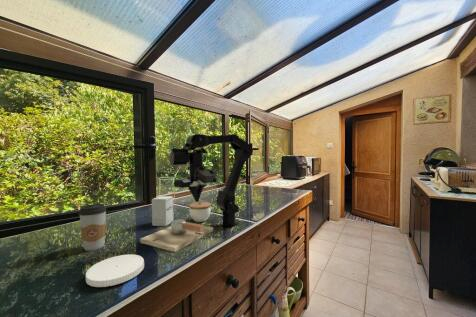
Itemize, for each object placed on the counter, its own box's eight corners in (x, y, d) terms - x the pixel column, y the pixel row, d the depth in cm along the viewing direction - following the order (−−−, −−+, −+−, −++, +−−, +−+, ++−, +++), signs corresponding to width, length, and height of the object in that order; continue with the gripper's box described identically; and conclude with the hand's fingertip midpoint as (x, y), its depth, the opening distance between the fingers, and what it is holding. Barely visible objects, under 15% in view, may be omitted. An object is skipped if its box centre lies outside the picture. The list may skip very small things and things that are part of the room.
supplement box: (166, 226, 99) (165, 199, 99) (151, 225, 101) (150, 198, 100) (174, 221, 106) (173, 196, 106) (160, 220, 108) (159, 195, 108)
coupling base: (181, 225, 100) (181, 221, 100) (214, 231, 91) (214, 227, 91) (140, 242, 81) (140, 238, 81) (176, 252, 72) (175, 247, 72)
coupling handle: (167, 233, 85) (167, 222, 85) (178, 228, 91) (178, 218, 90) (196, 240, 78) (196, 228, 78) (207, 234, 83) (206, 223, 83)
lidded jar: (193, 216, 114) (193, 199, 114) (213, 217, 112) (213, 199, 112) (186, 223, 103) (185, 203, 103) (207, 223, 102) (207, 203, 101)
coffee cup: (78, 254, 73) (76, 210, 72) (82, 245, 80) (80, 205, 80) (106, 248, 77) (105, 206, 76) (108, 240, 84) (107, 202, 84)
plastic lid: (110, 296, 51) (110, 285, 51) (73, 284, 56) (73, 274, 56) (154, 267, 64) (154, 258, 64) (121, 259, 69) (120, 251, 69)
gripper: (190, 166, 78) (191, 209, 78) (225, 163, 92) (226, 199, 92) (172, 165, 85) (173, 205, 85) (207, 163, 99) (208, 197, 100)
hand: (197, 201), depth 90 cm, fingers closed
